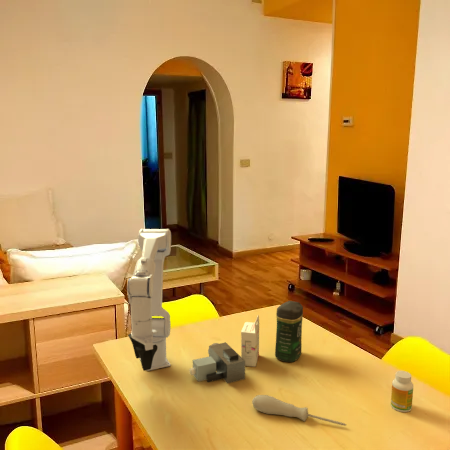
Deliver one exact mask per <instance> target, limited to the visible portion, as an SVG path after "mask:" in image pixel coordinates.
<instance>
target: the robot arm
mask: <svg viewBox="0 0 450 450" xmlns="http://www.w3.org/2000/svg"><path fill="white" fill-rule="evenodd" d="M137 238H138V240H137V242H138V246H139V250H140V251H141V257H140V258H138V259H137V260H136V263H135V266H134V270H133V274H132V276H131V277H129V278H128V280H127V284H126V292H127V298H128V304H129V305H130V319H131V320H130V321H131V322H130V324H131V332H130V333H129V334H128V335H127V336H128V338H129V340H130V341H131V344H132V348H133V351H134V355H135V358H136V359H137V360H138V359H139V360H140V363H141V368H142V370H143V372H144V371H147V372H149V371H153V370H157V369H161V368H167V367H170V366H171V363H170V361H169V360H168V357H167V338H168V337H170V335H171V315H170V313H169V312H168V310H166V309H165V308H164V307H163V287H164V284H163V282H164V264H165V260H166V259H165V258H166V257H168V256H169V255H171V252H172V251H171V250H172V249H171V248H172V232H171V230H170V228H160V229H159V228H151V229H150V228H140V230H139V231H138V235H137Z"/></svg>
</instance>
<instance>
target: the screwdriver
mask: <svg viewBox="0 0 450 450" xmlns="http://www.w3.org/2000/svg"><path fill="white" fill-rule="evenodd" d="M251 401H252V402H251V404H252V406H253V408H254V409H256V411H258V412H261V413H263V414H266V415H279V416H285V417H289V418H292V417H294V418H297V419H300V420H301V421H303V422H306V420H307V419H308V417H309V418H314V419H317V420H320V421H325V422H329V423H333V424H337V425H340V426H344V427H346V426H347V424H346V423H344V422H341V421H337V420H333V419H330V418H325V417H322V416H317V415H314V414H310V413H309V408H308V407H307V406H306V407H298V406H295V405H294V404H293V403H292V404H291V403H288V402H285V401H282V400H280V399H279V398H276V397H274V396H271V395H269V394H258V395H256V396H254V397H253V398H252V400H251Z"/></svg>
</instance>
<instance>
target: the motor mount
mask: <svg viewBox="0 0 450 450" xmlns="http://www.w3.org/2000/svg"><path fill="white" fill-rule="evenodd" d="M207 354H208V357H210V356H211V357H212V358H213V359H214V361H215V362H216V373H212V374H207V380H206V381H207V383H211V382H214V381H220V380H224V382H225V383H226V384H230V383H235V382H238V381H242V380H243V381H244V380H246V366H245V360H244V359H243V358H242V357H241V355H240V354H239V353H238V352H237V351H235V350H234V348H232V346H230V345H229V344H228V343H227V342H221V343H219V342H213V343H212V344H211V345H209V346H208V350H207Z"/></svg>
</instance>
